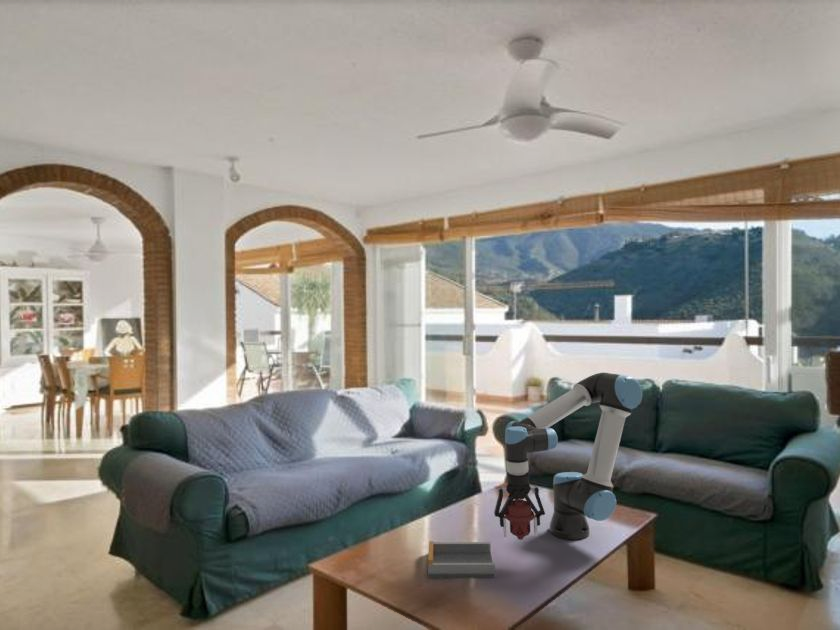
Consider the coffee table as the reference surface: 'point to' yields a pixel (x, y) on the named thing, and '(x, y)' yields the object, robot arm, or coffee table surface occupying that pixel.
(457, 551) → the grey piece
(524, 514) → the mechanical component
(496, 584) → the coffee table surface
